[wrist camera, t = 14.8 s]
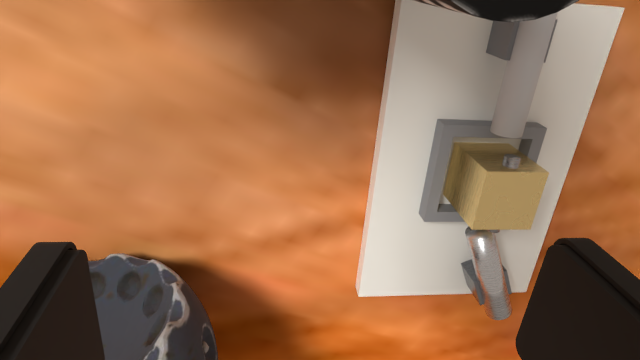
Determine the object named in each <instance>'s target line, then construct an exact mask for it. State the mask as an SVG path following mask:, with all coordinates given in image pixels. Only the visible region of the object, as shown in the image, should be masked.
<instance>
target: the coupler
mask: <svg viewBox="0 0 640 360" xmlns="http://www.w3.org/2000/svg"><path fill="white" fill-rule="evenodd" d="M548 175H549V172H548V171H546V170H545V169H543V168H542V167H541V166H539V165H538V164H537V163H535V162H534V161H532V160H531V159H530V158H528V157H527V156H525V155H524V154H523V153H521V152H520V151H519V150H517V149H516V148H514V147H513V146H512V145H510V144H509V143H475V142H454V146H453V151H452V155H451V160H450V164H449V169H448V173H447V178H446V182H445V187H444V191H443V195H444V196H445V197H446V198H447V200H448V201H449V202H450V203H451V205H452V206H453V207H454V208H455V210H456V211H457V212H458V213H459V215H460V216H461V217H462V218H463V219H464V221H465V222H466V223H467V224H468V226H469V227H470V228H471V229H472V230H487V231H489V232H492V233H498V232H500V230H530V229H531V226H532V223H533V220H534V217H535V214H536V211H537V208H538V205H539V202H540V199H541V196H542V193H543V190H544V187H545V184H546V181H547V178H548Z"/></svg>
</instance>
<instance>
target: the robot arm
mask: <svg viewBox="0 0 640 360" xmlns="http://www.w3.org/2000/svg"><path fill="white" fill-rule="evenodd" d="M516 348H517V351H518V354H519V356H520V357H521V359H522V360H640V280H639V279H638V278H637V277H636V276H634V275H633V274H632V273H631V272H630V271H628V270H627V269H626V268H625V267H624V266H622V265H621V264H620V263H619V262H618V261H616V260H615V259H614V258H613V257H612V256H610V255H609V254H608V253H607V252H606V251H604V250H603V249H602V248H601V247H599V246H598V245H597V244H596V243H595V242H593V241H592V240H590V239H588V238H561V239H558V240H557V241H556V242H555V243H554V245H552V246H550V247H549V248H548V250H547V252H546V255H545V258H544V261H543V264H542V267H541V269H540V272H539V275H538V278H537V281H536V283H535V286H534V289H533V292H532V295H531V298H530V300H529V303H528V306H527V309H526V312H525V314H524V317H523V320H522V323H521V326H520V329H519V331H518V334H517V337H516ZM0 360H105V354H104V349H103V343H102V338H101V332H100V326H99V321H98V315H97V309H96V304H95V298H94V292H93V287H92V281H91V275H90V270H89V264H88V258H87V254H86V252H85V251H84V250H77V249H76V246H75V245H74V243H72V242H38V243H36V244H35V245H33V246H32V248H31V249H30V250H29V252H28V253H27V254H26V255H25V257H24V258H23V259H22V261H21V262H20V263H19V265H18V266H17V267H16V268H15V270H14V271H13V272H12V274H11V275H10V276H9V277H8V279H7V280H6V281H5V283H4V284H3V285H2V286H1V288H0Z"/></svg>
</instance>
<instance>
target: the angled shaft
mask: <svg viewBox="0 0 640 360" xmlns="http://www.w3.org/2000/svg"><path fill="white" fill-rule="evenodd" d="M465 235H466V238H467V242H468V246H469V250H470V254H471V257H472V259H471V260H468V261H465V262H463V263H461V266H462V269H463V273H464V277H465V280H466V284H467V286H468V288H469V289H470V291H471V292H472V294H473V295H474V297H475V298H476V300H477V301H478V303H479V304H480V305H482V304H484V307H485V311H486V314H487V315H488V316H489V317H490V318H492V319H494V320H503V319H506V318H508V317H509V316H510V315H511V313H512V308H511V303H510V299H509V294H511V293H512V292H511V287H510V282H509V278H508V273H507V270H506V269H505V267H504V266H503V265H502V263H501V258H500V254H499V249H498V245H497V240H496V236H495V233H492V232H489V231H487V230H472V229H471V228H470V227H469V226H468V227H467V228H466V230H465Z"/></svg>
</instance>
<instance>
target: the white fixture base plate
mask: <svg viewBox="0 0 640 360" xmlns="http://www.w3.org/2000/svg"><path fill="white" fill-rule="evenodd" d="M623 11H624V8H622V7H614V6H604V5H591V4H579V3H573V4H572V5H570V6H568V7H566V8H564V9H562V10H561V11H559V12H557V13H554V14H551V15H548V16H545V17H542V18H539V19H536V20H530V21H521V22H513V23H511V22H501V21H491V20H487V19H483V18H479V17H475V16H471V15H467V14H463V13H460V12H456V11H452V10H448V9H444V8H440V7H436V6H432V5H428V4H424V3H420V2H416V1H413V0H395V7H394V15H393V22H392V29H391V36H390V43H389V50H388V58H387V65H386V72H385V79H384V86H383V93H382V100H381V108H380V115H379V122H378V129H377V136H376V143H375V151H374V158H373V165H372V172H371V179H370V186H369V194H368V201H367V208H366V215H365V222H364V229H363V236H362V244H361V251H360V258H359V265H358V272H357V279H356V290H357V293H358V297H365V296H401V295H438V294H472V292H471V291H470V289H469V288H468V286H467V284H466V280H465V277H464V273H463V269H462V266H461V263H463V262H465V261H468V260H471V259H472V257H471V254H470V250H469V246H468V242H467V238H466V235H465V230H466V228H467V227H468V224H467V223H466V222H465V221H464V219H463V218H462V217H461V216H460V215H459V213H458V212H457V211H456V210H455V208H454V207H453V206H452V205H451V203H450V202H449V201H448V200H447V198H446V197H445V196H444V195H443V191H444V187H445V182H446V178H447V173H448V169H449V164H450V160H451V155H452V151H453V146H454V142H475V143H509V144H510V145H512V146H513V147H514V148H516V149H517V150H519V151H520V152H521V153H523V154H524V155H525V156H527V157H528V158H530V159H531V160H532V161H534V162H535V163H537V164H538V165H539V166H541V167H542V168H543V169H545V170H546V171H548V172H549V175H548V178H547V181H546V184H545V187H544V190H543V193H542V196H541V199H540V202H539V205H538V208H537V211H536V214H535V217H534V220H533V223H532V226H531V229H530V230H500V232H498V233H495V236H496V240H497V245H498V249H499V254H500V258H501V263H502V265H503V266H504V267H505V269H506V270H507V273H508V278H509V282H510V287H511V292H526V291H527V288H528V285H529V282H530V279H531V276H532V273H533V270H534V267H535V265H536V262H537V259H538V256H539V253H540V250H541V247H542V244H543V242H544V239H545V236H546V233H547V230H548V227H549V224H550V221H551V219H552V216H553V213H554V210H555V207H556V204H557V201H558V198H559V195H560V193H561V190H562V187H563V184H564V181H565V178H566V175H567V172H568V170H569V167H570V164H571V161H572V158H573V155H574V152H575V149H576V146H577V144H578V141H579V138H580V135H581V132H582V129H583V126H584V123H585V121H586V118H587V115H588V112H589V109H590V106H591V103H592V100H593V98H594V95H595V92H596V89H597V86H598V83H599V80H600V77H601V74H602V72H603V69H604V66H605V63H606V60H607V57H608V54H609V51H610V49H611V46H612V43H613V40H614V37H615V34H616V31H617V28H618V25H619V23H620V20H621V17H622V14H623Z"/></svg>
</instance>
